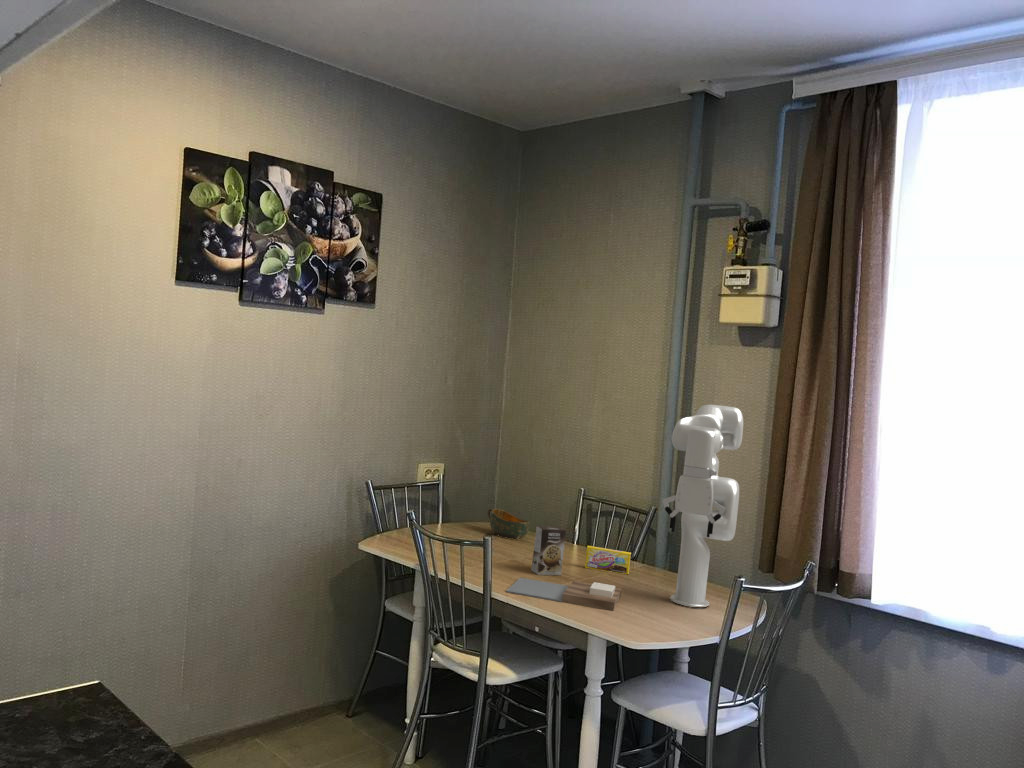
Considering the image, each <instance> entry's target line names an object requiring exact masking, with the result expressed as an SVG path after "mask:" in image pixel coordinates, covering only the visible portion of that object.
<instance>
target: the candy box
mask: <svg viewBox="0 0 1024 768" xmlns="http://www.w3.org/2000/svg"><path fill="white" fill-rule="evenodd" d="M631 555H632V552H629V551H624V550H623V551H622V550H616V549H611V548H605V547H599V546H594V545H593V546H592V545H587V546H586V555H585V562H584V563H585V564H584V569H588V568H591V569H590V570H594V569H598V570H597V571H600V570H604V571H603V572H606V571H612V572H617V573H616V574H618V573H624V574H630V564H631ZM612 572H611V573H612ZM624 574H623V575H624Z"/></svg>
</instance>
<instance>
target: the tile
mask: <svg viewBox="0 0 1024 768" xmlns="http://www.w3.org/2000/svg"><path fill="white" fill-rule="evenodd" d="M591 584H592V586H591V587H590V593H589V594H592V595H598V596H604V597H609V598H612V596H613V594H614V592H615V588H616V585H613V584H607V583H602V582H595V581H593V583H591Z"/></svg>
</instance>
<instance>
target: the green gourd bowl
mask: <svg viewBox="0 0 1024 768" xmlns="http://www.w3.org/2000/svg"><path fill="white" fill-rule="evenodd" d="M487 517H488V519H489V523H490V524H489V526H490V529H491V532H492V534H493V533H494V534H496V535H499V536H502V537H501V538H503V537H507V538H513V539H522V540H523V539H524V538H525V537H526V536H527V534H528V533H529V530H530V525H531V524H530V523H531V521H529V520H525V519H522V518H519V517H517V516H515V515H513V514H512V513H510V512H508V511H505V510H503V509H500V508H490V507H489V508H488V509H487ZM494 534H493V535H494ZM496 535H495V536H496ZM499 536H498V537H499ZM507 538H506V539H507ZM513 539H512V540H513Z"/></svg>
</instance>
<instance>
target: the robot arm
mask: <svg viewBox="0 0 1024 768" xmlns="http://www.w3.org/2000/svg"><path fill="white" fill-rule="evenodd" d="M743 430H744V417H743V413H742V411H741V410H740V409H739V408H738V407H736V406H735V407H734V406H729V405H719V404H704V405H702V406H700V407H699V408H698V409H697V411H696V412H695V415H692V416H686V417H683V418H679V420H678V421H676V423H675V425H674V428H673V431H672V435H671V442H672V446H673V448H674V449H676V450H677V451H682V452H685V457H684V467H683V473H682V475H680V476H679V479H678V484H677V488H676V489H677V490H676V494H675V495H671V496H669V497H667V498H664V499H662V500H661V502H662V504H663V507H664V510H665V511H666V513H667V514H668V515H669V517H670V519H669V521H670V522H669V529H671V533H674V532H675V531H676V523H677V520H676V519H677V517H676V515H678V513H681V517H680V519H681V521H680V522H681V525H680V526H681V528H680V529H681V538H680V539H681V542H680V552H679V553H680V554H679V559H678V570H677V579H676V588H675V593H674V594H672V595H670V597H669V599H671V600H670V601H671V602H672V601H673V602H675V603H678V604H681V605H685V606H691V607H706V606H708V605H709V606H710V602H709V600H707V599H706V594H707V593H706V592H707V585H708V584H707V583H708V575H709V567H710V566H709V565H710V558H711V551H710V547H709V545H708V544H707V542H706V541H705V540H704V539H711V540H717V541H718V540H719V541H723V542H728V541H729V542H730V541H732V540H733V539H734V537H735V535H736V530H737V529H736V528H737V521H738V511H739V501H740V484H739V483H738V481H737V480H736V479H734V478H730V477H725V476H719V468H720V461H719V458H718V456H717V454H718V453H719V452H720V451H721V450H727V451H736V450H738V449H739V448H740V447H741V445H742V442H743V434H744V431H743ZM674 501H675V503H674V509H672V508H670V506H669V505H670V503H672V502H674ZM713 507H714V508H716V509H713ZM673 602H672V603H673ZM675 603H674V604H675ZM678 604H677V605H678ZM681 605H680V606H681ZM685 606H684V607H685ZM691 607H690V608H691Z"/></svg>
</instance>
